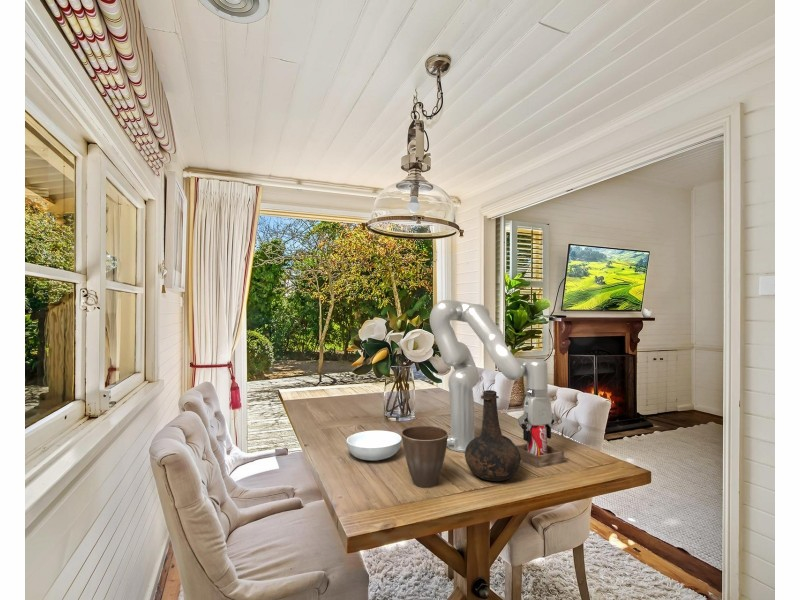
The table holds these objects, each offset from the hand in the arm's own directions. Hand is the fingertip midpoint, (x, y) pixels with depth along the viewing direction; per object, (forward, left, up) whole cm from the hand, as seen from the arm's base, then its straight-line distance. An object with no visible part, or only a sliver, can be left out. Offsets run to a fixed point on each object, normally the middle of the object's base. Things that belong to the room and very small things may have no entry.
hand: (537, 439), depth 146 cm
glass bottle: (-25, -6, -7) cm, 27 cm away
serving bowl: (-55, +27, -7) cm, 61 cm away
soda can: (0, 0, -6) cm, 6 cm away
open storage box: (0, 0, -7) cm, 7 cm away
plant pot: (-48, -2, -7) cm, 48 cm away
